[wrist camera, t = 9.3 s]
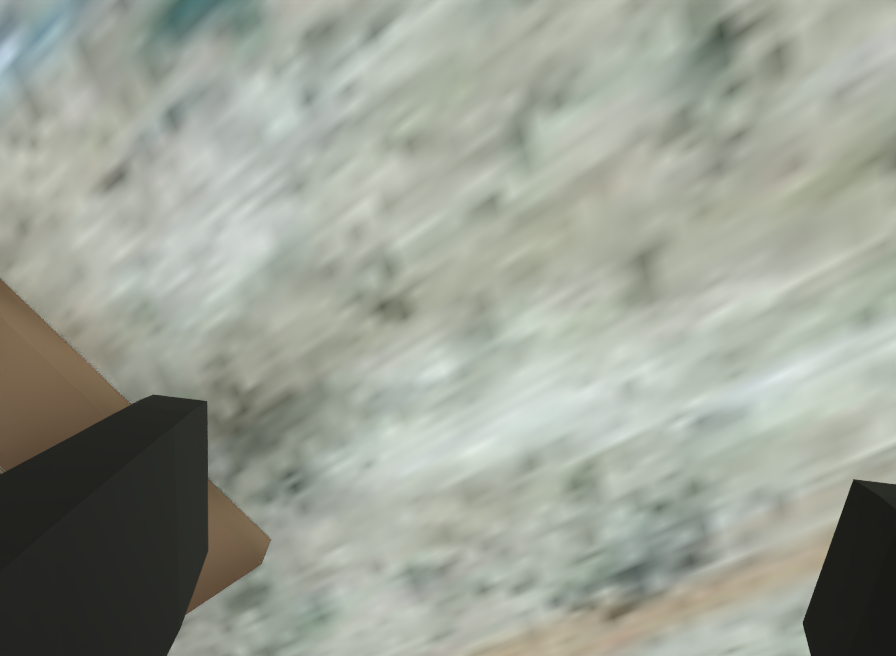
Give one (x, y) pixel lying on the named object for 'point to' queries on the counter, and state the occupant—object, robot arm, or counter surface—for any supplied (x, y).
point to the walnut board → (82, 405)
